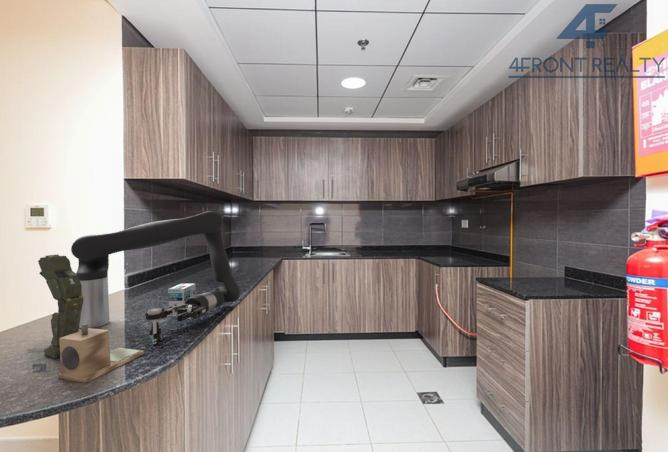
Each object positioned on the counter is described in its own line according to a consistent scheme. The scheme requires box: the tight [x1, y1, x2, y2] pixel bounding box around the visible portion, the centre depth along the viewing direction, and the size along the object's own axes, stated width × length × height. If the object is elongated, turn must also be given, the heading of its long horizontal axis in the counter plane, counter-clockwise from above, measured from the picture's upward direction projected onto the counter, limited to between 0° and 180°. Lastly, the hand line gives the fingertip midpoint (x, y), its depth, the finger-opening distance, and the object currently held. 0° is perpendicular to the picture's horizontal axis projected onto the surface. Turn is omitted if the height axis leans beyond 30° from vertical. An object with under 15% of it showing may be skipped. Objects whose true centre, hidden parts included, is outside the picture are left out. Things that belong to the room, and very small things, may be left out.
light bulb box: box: [167, 283, 197, 314], centre depth 130 cm, size 11×7×11 cm, turn 179°
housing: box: [57, 324, 145, 384], centre depth 83 cm, size 16×9×12 cm, turn 164°
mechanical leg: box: [37, 253, 84, 360], centre depth 91 cm, size 14×7×30 cm, turn 71°
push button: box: [144, 307, 164, 345], centre depth 98 cm, size 7×5×10 cm
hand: (167, 317), depth 103 cm, fingers open, 8 cm apart
